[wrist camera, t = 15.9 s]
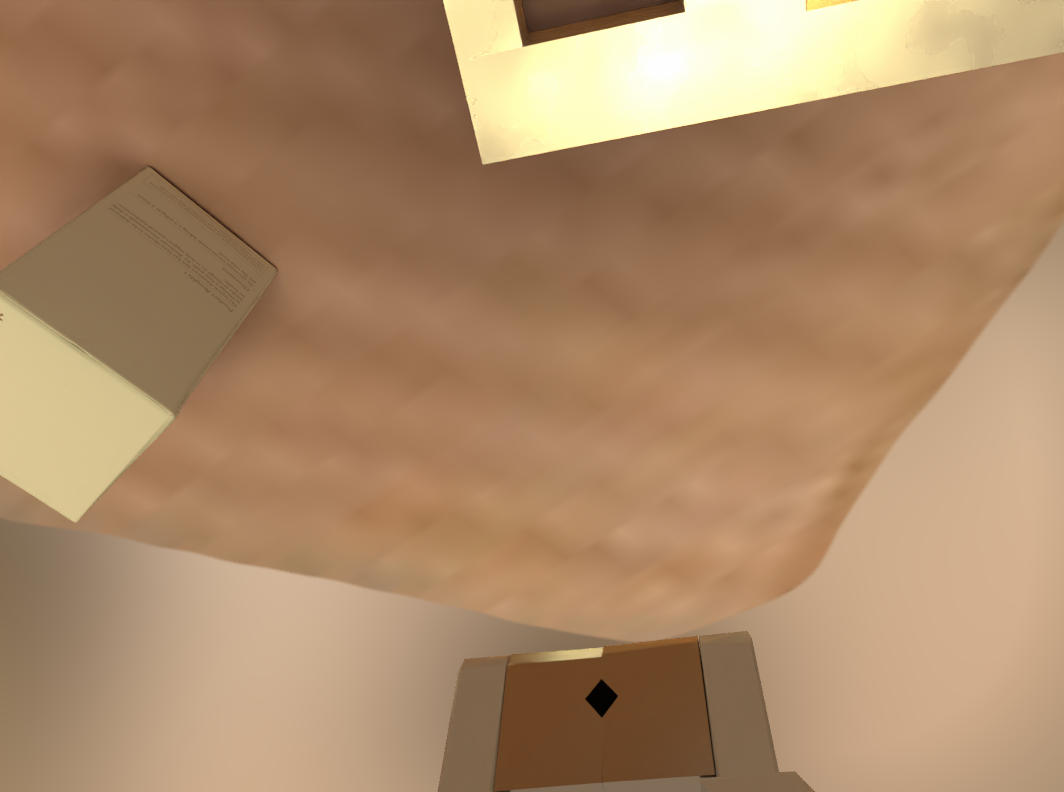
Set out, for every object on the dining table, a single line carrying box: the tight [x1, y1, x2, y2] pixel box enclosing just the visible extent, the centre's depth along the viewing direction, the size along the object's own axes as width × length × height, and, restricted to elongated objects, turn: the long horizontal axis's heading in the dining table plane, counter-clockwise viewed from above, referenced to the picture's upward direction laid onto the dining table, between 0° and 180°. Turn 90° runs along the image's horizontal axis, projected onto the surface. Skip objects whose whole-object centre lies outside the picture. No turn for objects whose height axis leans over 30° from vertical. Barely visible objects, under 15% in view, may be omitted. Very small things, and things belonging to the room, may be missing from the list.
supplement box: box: [0, 167, 277, 522], centre depth 36 cm, size 7×7×13 cm
